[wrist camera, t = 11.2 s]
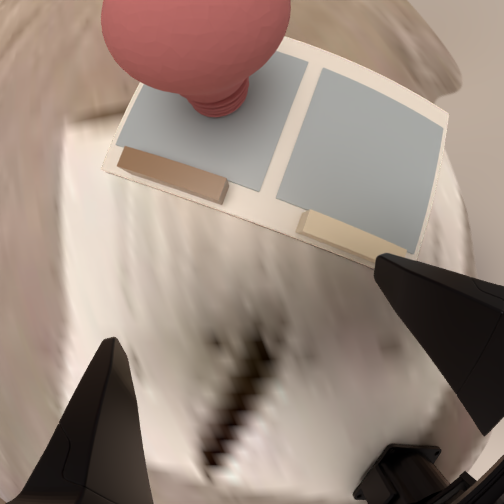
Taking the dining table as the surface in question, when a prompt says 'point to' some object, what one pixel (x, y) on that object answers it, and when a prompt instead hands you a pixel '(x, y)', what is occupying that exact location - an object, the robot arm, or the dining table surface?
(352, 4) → the dining table surface
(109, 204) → the dining table surface
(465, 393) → the robot arm
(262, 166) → the board
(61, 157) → the dining table surface
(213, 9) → the light bulb
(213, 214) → the dining table surface
